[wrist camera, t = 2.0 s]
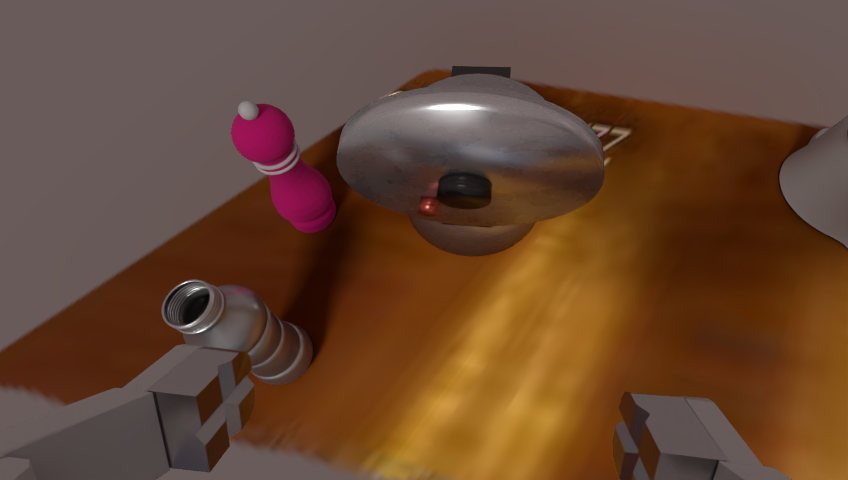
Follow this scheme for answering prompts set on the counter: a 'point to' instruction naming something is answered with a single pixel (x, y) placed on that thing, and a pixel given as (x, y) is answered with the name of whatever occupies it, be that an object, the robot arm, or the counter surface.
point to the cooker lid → (471, 156)
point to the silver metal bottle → (239, 328)
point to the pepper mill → (283, 166)
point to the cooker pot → (465, 236)
